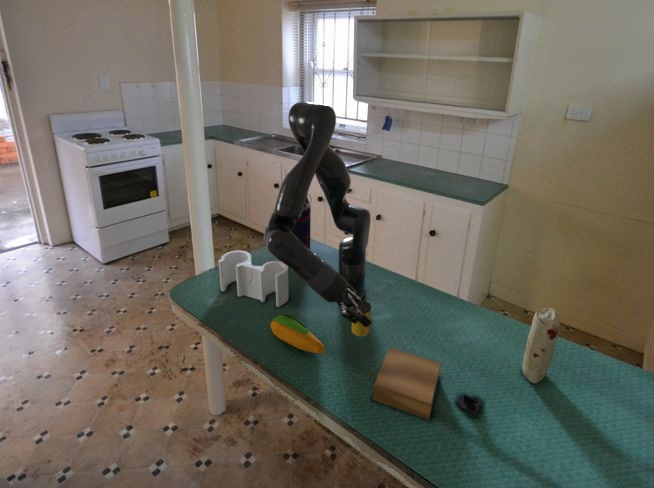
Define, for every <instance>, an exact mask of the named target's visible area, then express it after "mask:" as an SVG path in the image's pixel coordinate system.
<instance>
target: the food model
mask: <svg viewBox="0 0 654 488" xmlns="http://www.w3.org/2000/svg"><path fill="white" fill-rule="evenodd" d="M560 325H561V316H560V313H559V312H557V310H555V309H554V308H552V307H545V308H543V309H542V310H541V311H540V312H539V313H538V312H537V311H536V312H535V313H534V315H533V318H532V322H531V326H530V328H529V329H530V330H529V333H528V337H527V340H526V341H527V342H526V345H525V349H524V355H523V360H522V365H521V369H522V370H521V371H522V374H523V376H524V378H526V379H527V380H528V381H529V382H530V383H531V384H538V383H540V382H541V381H542V380H543V379H544V378H545V376H546V375H547V373H548V370H549V368H550V366H551V364H552V362H553V358H554V355H555V350H556V345H557V341H558V338H559V332H560Z"/></svg>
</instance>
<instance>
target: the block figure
mask: <svg viewBox="0 0 654 488" xmlns="http://www.w3.org/2000/svg"><path fill="white" fill-rule="evenodd" d="M456 404H457V406H458V408H460V409H461V410H463V411H467V414H468V416H470V417H472V418H477V416H478V413H479V412H482V411H481V410H482V409H481V408H480V407H481V405H482V400H481V398H480V397H478V396H473V397H472V396H469V395H467V394H459V396H458V398H457V401H456Z"/></svg>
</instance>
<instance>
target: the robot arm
mask: <svg viewBox="0 0 654 488" xmlns="http://www.w3.org/2000/svg"><path fill="white" fill-rule="evenodd" d="M288 125H289V129H290V131H291V134H292V135H293V137H294V139H295V140H296V142H297V143H298V145H299V147H300V148H301V150H302V151H303V153H304V154H303V155H302V157H301V158H300V159H299V160H298V162H297V163H296V164H295V165H294V166H293V167H292V168H291V170H289V172H288V173H287V174H286V176H285V177H284V179H283V180H282V182H281V184H280V187H279V191H278V194H277V197H276V200H275V201H276V202H275V205H274V209H273V211H272V214H271V216H270V218H269V220H268V222H267V224H266V226H265V230H264V233H263V239H262V240H263V241H262V242H263V245H264V247H265V248H266V250H267V251H268V252H269V253H270V254H271V255H272V256H274V257H275V258H277V259H278V261H281V262H283V263H284V264H286V265H287V266H288V268H290V269H291V271H292V272H293V273H295V274H296V276H298V277H299V278H300V279H301V280H302V281H304V282H305V283H306V285H307V286H308V287H309V288H310V289H311V290H313V291H314V292H315V293H316V294H317V295H319V296H320V297H321V298H322V299H323V300H325V301H326V302H327V303H335V304H337V305H338V306H339V308H341V310H342V311H341V312H339V313H340V316H341V317H342V318H343V319H346V320H347V321H349V322H351V324H352V323H354V324H356V323H357V322H358V321H359V322H360V323H361V324H362V325H363V326H365V327H368V326H369V325H370V326H371V325H372V324H373V323H372V320H371V318H370V319H369V318H368V317H366V316H365V315H364V314H363V313H362V312H361V311H360V310H359V309H358V305H357V304H356V301H359V300H362V299H363V298H364V296H365V284H366V261H367V248H368V243H369V237H370V229H371V218H372V217H371V213H370V211H369V210H368V209H366V208H363V207H360V206H356V205H353V204H351V203H349V202H348V200H347V198H346V195H347V194H348V193H349V190H350V187H351V183H352V182H351V181H352V180H351V176H350V173H349V170H348V167H347V166H346V163H345V161H344V160H343V158H342V157H340V155H339V154H338V153H337V152H336V151H335V150H334V149H332V148H331V146H330V145H329V144H330V141H331V140H332V137H333V136H334V133H335V129H336V125H337V115H336V112H335V109H334V108H333V107H332V106H331V105H329V104H323V103H316V102H308V101H307V102H306V101H299V102H296V103H294V104H293V105H292V106H291V107H290V109H289V112H288ZM314 176H315V178H316V180H317V183H318V184H319V186H320V188H321V190H322V192H323V194H324V197H325V199H326V202H327V203H328V207H329V209H330V213H331V217H332V219H333V222H334V225H335V227H336V229H338V230H339V231H341V232H344V233H347V234H350V235H352V237H347V238H344V239H342V240H341V241H340V242H339V244H338V266H337V267H338V270H335V269H334V267H332V266H331V265H330V263H327V262H326V261H324V260H323V259H322V258H320V257H319V256H318V255H317V254H316V253H315V252H313V251H312V250H311V248H310V249H308V248H307V247H306V246H305V245H304V244H303V243H302V242H301V241H300V240H299V239H298V238H297V237H296V236H295V235H294V234H293V233H292V230H293V227H294V224H295V222H296V220H297V219H299V218H300V216H301V214H302V211H303V208H304V204H305V201H306V197H308V195H307V194H309V190H310V187H311V184H312V182H313V179H314ZM353 305H354V307H353V308H352V306H353ZM355 311H357V313H356V312H355Z"/></svg>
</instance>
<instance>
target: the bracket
mask: <svg viewBox="0 0 654 488" xmlns="http://www.w3.org/2000/svg"><path fill="white" fill-rule="evenodd" d="M252 263H253V262H252V254H251V253H250V252H248V251H246V250H241V249H240V250H231V251H228V252H225V253H224V254H223V255H222V256H221V257H220V259H219V260H218V270H219V281H220V283H219V284H220V291H221V292H225V291H226V290H227V287H228V286H229V285H231V284H232V283H234V282H236V289H237V297H239V298H241V297H244V296H245V297H248V298H251V299H254V300H258V301H260V302H261V303H264V302H266V297H267V296H268V295H270V294H272V293H275V302H276V303H275V305H276V308H280V307H281V306H282V305H285V304H286V303H287V302H288V301H289V296H290V295H289V293H290V292H289V267H288V266H287V265H286V264H284V263H283V262H282V261H280V260H270V261H267V262H265V263H264V264H262V266H261V265H253V264H252Z"/></svg>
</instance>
